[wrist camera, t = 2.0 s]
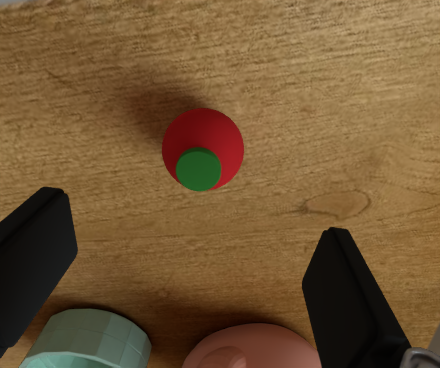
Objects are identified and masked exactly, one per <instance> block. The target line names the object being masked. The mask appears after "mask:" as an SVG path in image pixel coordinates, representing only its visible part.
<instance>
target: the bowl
mask: <svg viewBox="0 0 440 368" xmlns="http://www.w3.org/2000/svg"><path fill="white" fill-rule="evenodd" d="M151 348H152V345H151V343H150V341H149V339H148V336H147V334H146V333H145V332H143V331H142V330H141V329H140V328H139V327H138V326H136V325H135V324H134V323H132V322H131V321H129V320H128V319H126V318H124V317H122V316H120V315H117V314H115V313H112V312H108V311H104V310H98V309H69V310H65V311H63V312H60V313H58V314H55V315H53V316H51V317H50V319H49V320H48V321H47V323H46V324H45V325H44V327H43V328H42V330H41V332H40V333H39V335H38V337H37V338H36V340H35V341H34V343H33V345H32V346H31V348H30V349H29V351H28V353H27V354H26V356H25V357H24V359H23V361H22V362H21V364H20V366H19V367H18V368H147V364H148V360H149V356H150V352H151Z"/></svg>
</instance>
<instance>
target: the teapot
mask: <svg viewBox="0 0 440 368" xmlns="http://www.w3.org/2000/svg"><path fill="white" fill-rule="evenodd" d="M182 368H322V367H321V363H320V359H319V355H318V351H317V350H316V349H315V348H313V347H312V346H311V345H310V344H309V343H308V342H307V341H306V340H304V339H303V338H302V337H301V336H299V335H298V334H296V333H295V332H293V331H291V330H289V329H287V328H285V327H281V326H278V325H273V324H266V323H252V324H244V325H238V326H234V327H229V328H226V329H223V330H220V331H217V332H215V333H212V334H210V335H209V336H207V337H205V338H204V339H203V340H201V342H199V343H198V344H197V345H196V347H195V348H194V349H193V350H192V351H191V352H190V353H189V355H188V356H187V357H186V359H185V361H184V363H183V365H182Z"/></svg>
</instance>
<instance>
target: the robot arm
mask: <svg viewBox="0 0 440 368" xmlns="http://www.w3.org/2000/svg"><path fill="white" fill-rule="evenodd" d="M77 251H78V247H77V242H76V236H75V231H74V225H73V219H72V214H71V208H70V203H69V197H68V195H67V194H65V193H64V191H63V190H62V189H59V188H52V187H42V188H41V189H39V190H38V191H37V192H36V193H35V194H33V195H32V196H31V197H30V198H29V199H27V200H26V201H25V202H24V203H23V204H21V205H20V206H19V207H18V208H17V209H15V210H14V211H13V212H12V213H11V214H9V215H8V216H7V217H6V218H5V219H3V220H2V221H1V222H0V358H1V357H2V356H3V354H4V353H5V352H6V350H7V349H8V347H12V346H14V345H15V344H16V343H17V342H18V340H19V339H20V337H21V336H22V334H23V333H24V331H25V330H26V329H27V327H28V326H29V324H30V323H31V321H32V320H33V318H34V317H35V316H36V314H37V313H38V311H39V310H40V308H41V307H42V305H43V304H44V302H45V301H46V300H47V298H48V297H49V295H50V294H51V292H52V291H53V289H54V288H55V287H56V285H57V284H58V282H59V281H60V279H61V278H62V276H63V275H64V274H65V272H66V271H67V269H68V268H69V266H70V265H71V263H72V262H73V261H74V259H75V257H76V255H77ZM302 290H303V294H304V298H305V302H306V306H307V310H308V314H309V318H310V322H311V326H312V330H313V334H314V338H315V342H316V346H317V351H318V355H319V359H320V363H321V367H322V368H440V356H439V355H437V354H435V353H433V352H432V351H430V350H427V349H424V348H421V347H411V345H410V343H409V341H408V339H407V337H406V336H405V334H404V332H403V330H402V328H401V326H400V325H399V323H398V321H397V319H396V317H395V315H394V313H393V312H392V310H391V308H390V306H389V304H388V302H387V301H386V299H385V297H384V295H383V293H382V291H381V289H380V288H379V286H378V284H377V282H376V280H375V278H374V277H373V275H372V273H371V271H370V269H369V268H368V266H367V264H366V262H365V260H364V258H363V256H362V255H361V253H360V251H359V249H358V247H357V245H356V244H355V242H354V240H353V238H352V236H351V234H350V232H349V231H348V230H347V229H342V228H335V227H330V228H329V229H328V230H324V231H323V233H322V235H321V238H320V240H319V242H318V245H317V247H316V249H315V252H314V254H313V256H312V259H311V261H310V263H309V266H308V268H307V270H306V273H305V275H304V277H303V280H302Z"/></svg>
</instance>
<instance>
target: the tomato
mask: <svg viewBox="0 0 440 368" xmlns="http://www.w3.org/2000/svg"><path fill="white" fill-rule="evenodd" d="M243 155H244V144H243V139H242V136H241V133H240V131H239V129H238V128H237V126H236V125H235V123H234V122H233V121H232V120H231V119H230V118H229V117H227V116H226V115H225V114H223V113H221V112H219V111H216V110H213V109H209V108H197V109H192V110H189V111H186V112H184V113H182V114H181V115H179V116H178V117H177V118H176V119H174V120H173V121H172V123H171V124H170V125H169V127H168V128H167V130H166V132H165V135H164V138H163V142H162V156H163V160H164V163H165V166H166V168H167V170H168V171H169V173H170V174H171V176H172V177H173V178H174V179H175V180H176V181H177V182H179V183H180V184H182V185H183V186H185V187H186V188H188V189H190V190H193V191H206V190H213V189H216V188H219V187H221V186H223V185H225V184H226V183H227V182H229V181H230V180H231V179H232V178H233V177H234V176H235V174H236V173H237V172H238V170H239V168H240V166H241V163H242V160H243Z"/></svg>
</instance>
